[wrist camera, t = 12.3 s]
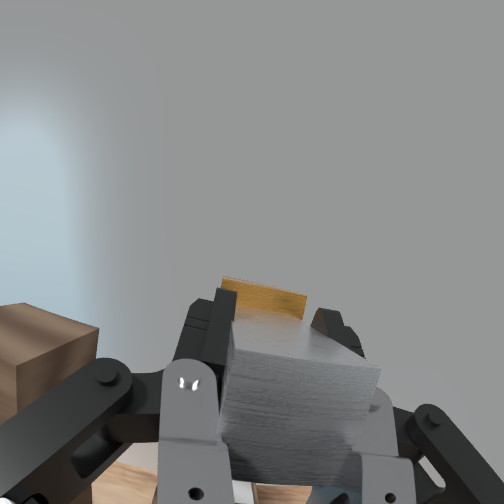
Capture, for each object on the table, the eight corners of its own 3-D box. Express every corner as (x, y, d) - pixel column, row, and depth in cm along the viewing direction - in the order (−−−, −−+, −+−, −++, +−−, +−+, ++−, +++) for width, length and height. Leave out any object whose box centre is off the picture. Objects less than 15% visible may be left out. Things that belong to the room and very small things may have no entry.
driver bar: (360, 484, 6) (411, 323, 6) (184, 472, 5) (218, 289, 6) (264, 336, 25) (274, 286, 25) (213, 326, 24) (223, 275, 25)
